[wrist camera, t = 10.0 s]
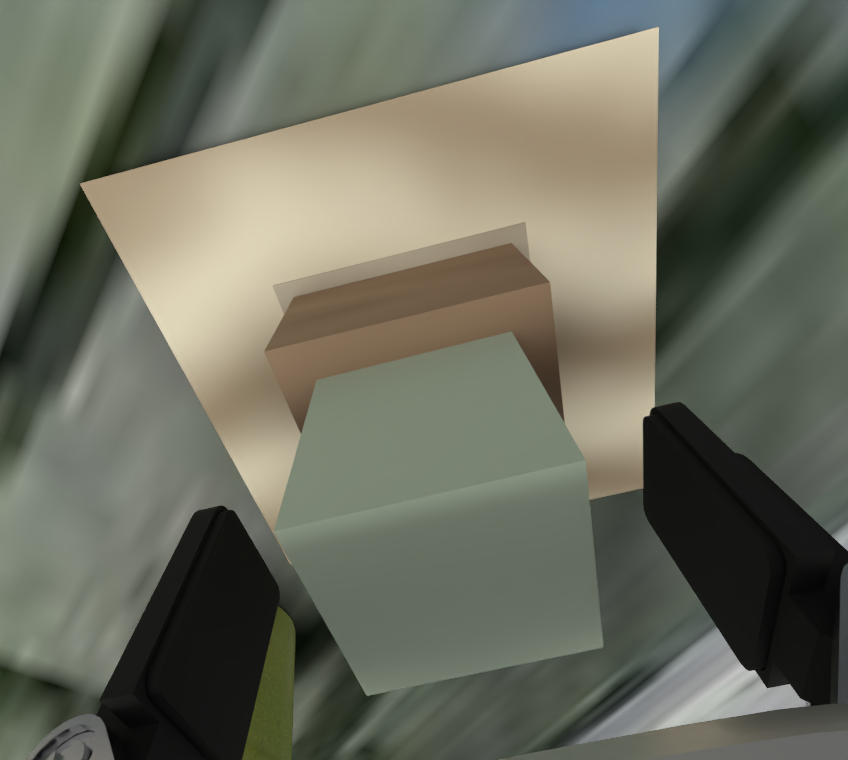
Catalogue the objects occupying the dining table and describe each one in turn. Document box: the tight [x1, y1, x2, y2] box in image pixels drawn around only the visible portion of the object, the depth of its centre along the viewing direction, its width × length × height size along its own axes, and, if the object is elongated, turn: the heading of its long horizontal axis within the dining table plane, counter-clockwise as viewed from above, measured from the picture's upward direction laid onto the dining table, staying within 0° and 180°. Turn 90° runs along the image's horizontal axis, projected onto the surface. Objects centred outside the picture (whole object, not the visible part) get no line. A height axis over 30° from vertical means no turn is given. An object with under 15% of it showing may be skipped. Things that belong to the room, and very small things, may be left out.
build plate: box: [80, 27, 659, 564], centre depth 17 cm, size 16×16×1 cm
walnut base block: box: [264, 243, 565, 433], centre depth 15 cm, size 7×7×4 cm
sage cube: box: [274, 331, 603, 696], centre depth 11 cm, size 5×5×5 cm
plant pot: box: [242, 606, 295, 760], centre depth 21 cm, size 9×9×9 cm
